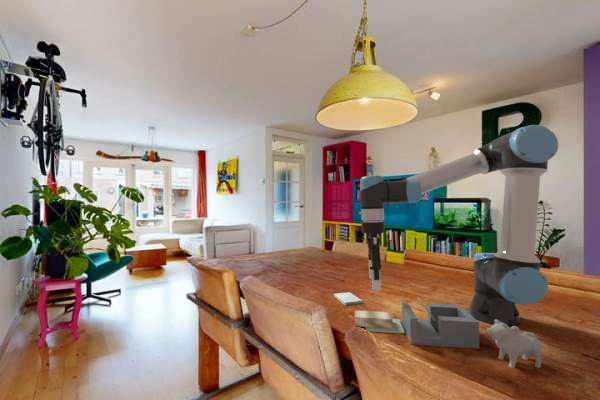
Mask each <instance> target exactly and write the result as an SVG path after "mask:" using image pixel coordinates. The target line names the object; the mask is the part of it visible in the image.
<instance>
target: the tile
mask: <svg viewBox="0 0 600 400" xmlns="http://www.w3.org/2000/svg"><path fill="white" fill-rule="evenodd" d="M393 319H394V318H393V317H392V314H391V312H390V311H372V310H370V311H369V310H356V309H355V310H354V326H355V327H363V328H365V327H376V328H392V329H393Z"/></svg>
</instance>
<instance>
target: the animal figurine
mask: <svg viewBox="0 0 600 400" xmlns="http://www.w3.org/2000/svg"><path fill="white" fill-rule="evenodd" d="M494 321H495V324H492V325H491V327H487V329H486V332H487V334H488V335H489V336H490V337H491V338H492V339H494V342H495V344H496V346H497V347H498V349H499V355H498V356H497V359H498V360H501V361H502V360H504V359H505V356H506V355H507V356H508V358H509V363H508V367H509V368H512V369H515V368H516V364H517V360H518V357H519V356H520V355H522V356H521V358H522V359H523V360H525V361H526V360H527V361H528V360H529V357H530V355H532V356H533V357H534V360H535V364H534V366H535V368H539V369H540V368H541V366H542V351H543V345H542V344H541V341H540V340H539V339H538V338H537V335H535V333H534V332H529V331H528V332H527V331H523V333H520V328H519V327H518V326H517V325H511V327H510V325H506V324H505V323H503V322H500V321H498V320H494Z"/></svg>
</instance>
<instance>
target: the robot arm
mask: <svg viewBox="0 0 600 400" xmlns="http://www.w3.org/2000/svg"><path fill="white" fill-rule="evenodd" d="M558 149H559V140H558V138H557V136H556V134H555V133H554V131H552V130H550V128H548V127H546V126H543V125H539V124H530V125H527V126H522V127H519V128H516V129H515V130H514V131H511V132H509V133H507V134H503V135H502V136H500V137H498V138H496V139H494V140H492V141H491V142H489V143H487V144H484V145H482V146H480V147H478V148H476V149H474V150H472V152H471V154H467V155H465V156H463V157H460V158H458V159H457V158H456V159H454V160H452V161H449V162H446V163H444V164H441V165H438V166H436V167H433V168H429V169H428V170H425V171H423V172H420V173H417V174H415V175H412V176H410V177H407V178H405V179H401V180H390V181H387V180H386V181H385V180H384V179H383V176H382V175H367V176H366V175H365V176H362V177H361V178H360V179H359V180H360V181H359V183H360V184H359V185H360V186H359V195H360V211H359V212H358V213H359V215H361V216H360V217H361V221H362V222H361V225H360V226H361V233H362V234H367V238H366V242H367V249H368V252H367V257H368V276H369V277H368V279H371V288H372V291H382V278H381V277H382V274H381V273H382V271H381V269H382V264H381V249H380V248H381V246H380V244H381V240H380V238H379V237H378V234H383V233H384V232H385V222H384V220H385V210H384V209H385V208H384V204H412V203H418V202H420V200H422V195H424V194H425V193H428V192H431V191H434V190H436V189H439V188H443V187H445V186H448V185H451V184H453V183H457V182H458V181H462V180H465V179H468V178H470V177H474V176H476V175H478V174H482V175H487V174H490V173H492V172H497V171H500V173H501V174H502V175H504V176H505V180H504V193H503V205H502V206H503V209H502V221H501V236H500V237H501V238H500V249H499V251H497V252H476V253H475V254H474V255H473V261H472V264H473V289H474V291H473V295H472V298H471V300H470V304H469V306H468V313H469V314H470V315H471V316H473V317H474V318H475V319H476V320H477V321H481V322H484V323H487V324H492V325H494V324H495V321H494V320H498V321H500V322H503V323H505V324H506V325H508V326H517V325H519V324H520V323H521V316H520V312H519V310H518V308H517V307H518V306H517V305H516V304H518V305H520V306H522V305H523V306H529V305H535V304H537V303H538V302H539V301H542V300H543V299H544V298H545V297H546V295H547V293H548V291H549V283H548V280H547V277H546V276H545V275H544V274H543V272H541V260H540V259H539V257H537V256H536V255H535V251H536V239H537V237H536V236H537V223H538V211H539V196H540V185H541V176H543V175H544V174H545V173H547V172H548V165H549V163H548V162H549V161H550V160H551V159H553V157H554V156H556V154H557V152H558Z"/></svg>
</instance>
